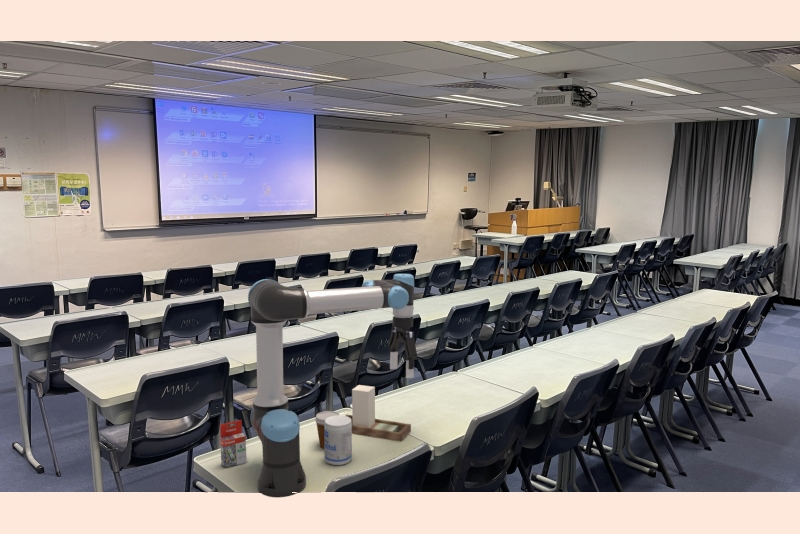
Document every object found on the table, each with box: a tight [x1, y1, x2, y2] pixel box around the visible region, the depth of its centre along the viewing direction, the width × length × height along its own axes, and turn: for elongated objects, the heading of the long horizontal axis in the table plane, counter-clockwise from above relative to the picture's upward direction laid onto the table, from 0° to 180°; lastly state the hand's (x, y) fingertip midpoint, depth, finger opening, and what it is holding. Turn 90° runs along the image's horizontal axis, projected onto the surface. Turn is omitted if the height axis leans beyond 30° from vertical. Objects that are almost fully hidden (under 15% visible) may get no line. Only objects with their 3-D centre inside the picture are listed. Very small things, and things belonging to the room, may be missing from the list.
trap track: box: [344, 414, 412, 442], centre depth 228 cm, size 28×10×3 cm, turn 69°
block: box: [351, 384, 376, 428], centre depth 229 cm, size 7×6×15 cm
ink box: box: [219, 419, 248, 469], centre depth 200 cm, size 4×8×15 cm, turn 123°
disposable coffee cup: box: [314, 410, 341, 450], centre depth 214 cm, size 10×10×12 cm
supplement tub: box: [323, 414, 353, 466], centre depth 203 cm, size 10×10×15 cm
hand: (401, 373), depth 214 cm, fingers open, 13 cm apart
